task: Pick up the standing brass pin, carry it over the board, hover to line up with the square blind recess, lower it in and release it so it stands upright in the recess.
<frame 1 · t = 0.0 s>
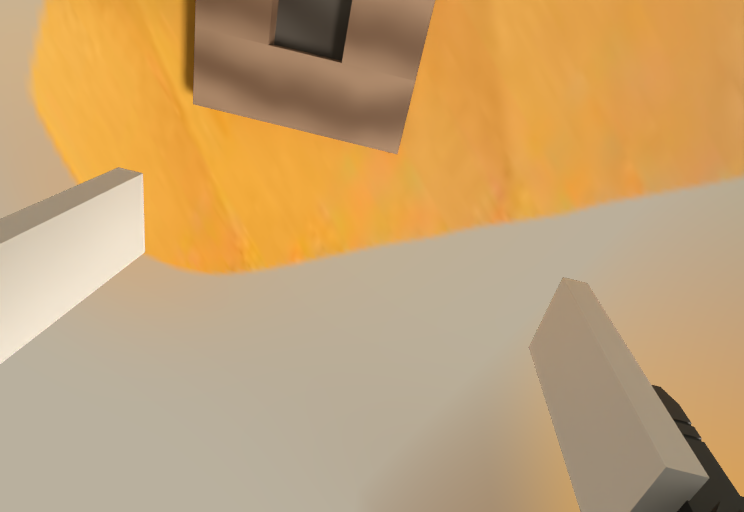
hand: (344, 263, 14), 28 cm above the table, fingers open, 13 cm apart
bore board: (316, 12, 36), on the table
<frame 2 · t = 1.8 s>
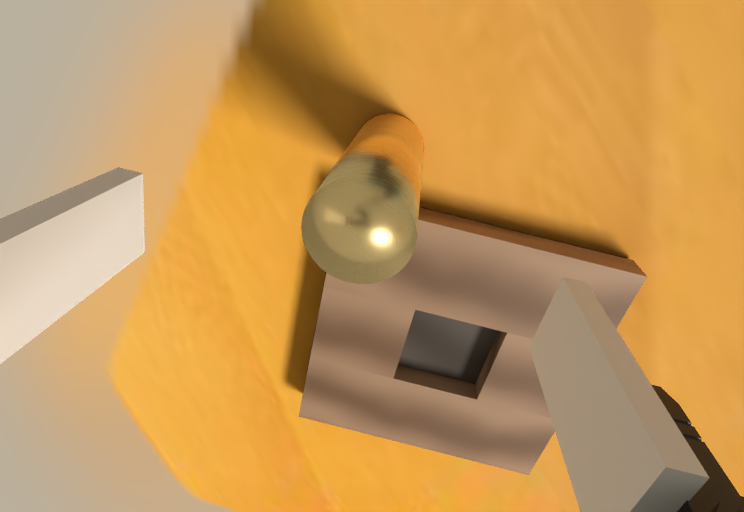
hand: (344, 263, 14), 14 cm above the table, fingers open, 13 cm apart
pin: (389, 149, 26), on the table
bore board: (446, 338, 31), on the table
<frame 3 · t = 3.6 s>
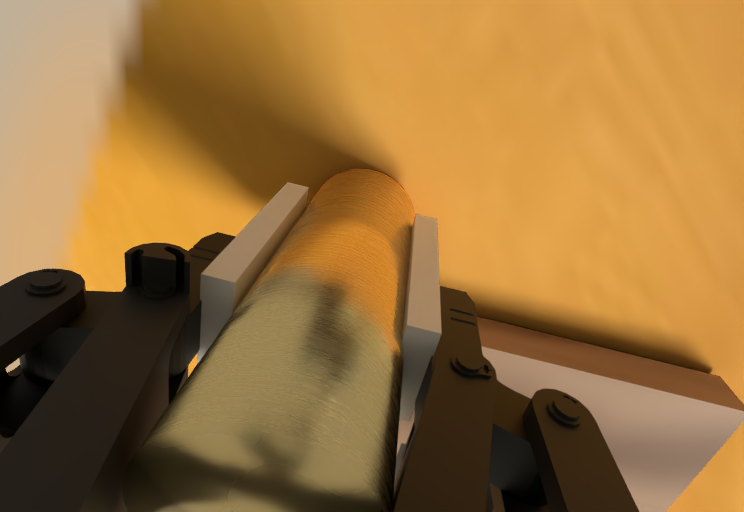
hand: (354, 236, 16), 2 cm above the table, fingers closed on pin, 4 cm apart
pin: (362, 219, 17), on the table, touching gripper
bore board: (446, 464, 23), on the table
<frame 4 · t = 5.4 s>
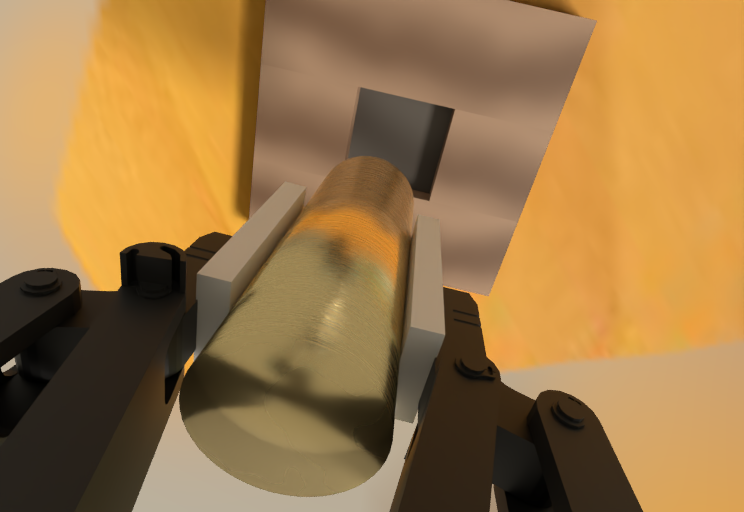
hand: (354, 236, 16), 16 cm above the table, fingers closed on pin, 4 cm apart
pin: (366, 203, 19), point 13 cm above the table, touching gripper
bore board: (397, 139, 30), on the table
when the fingers open (3 cm above the table, at t = 7.7 s): pin stays where it is, resting on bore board.
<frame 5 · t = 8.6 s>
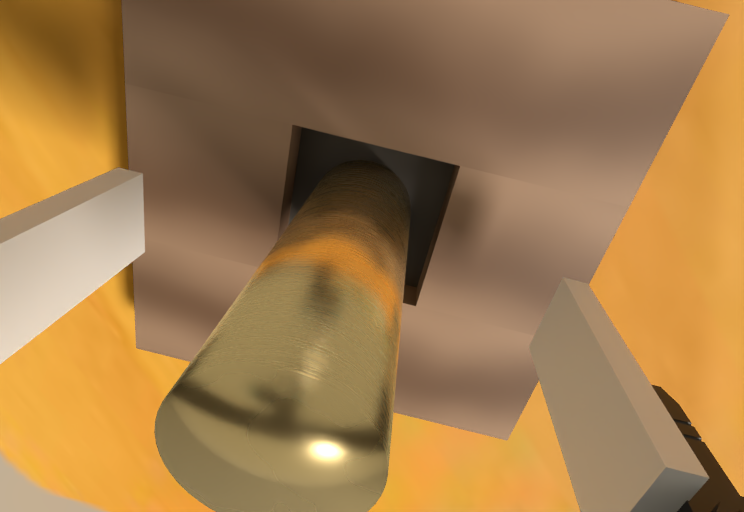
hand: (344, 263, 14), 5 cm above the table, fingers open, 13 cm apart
pin: (361, 208, 18), point 1 cm above the table, touching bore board
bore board: (365, 204, 19), on the table
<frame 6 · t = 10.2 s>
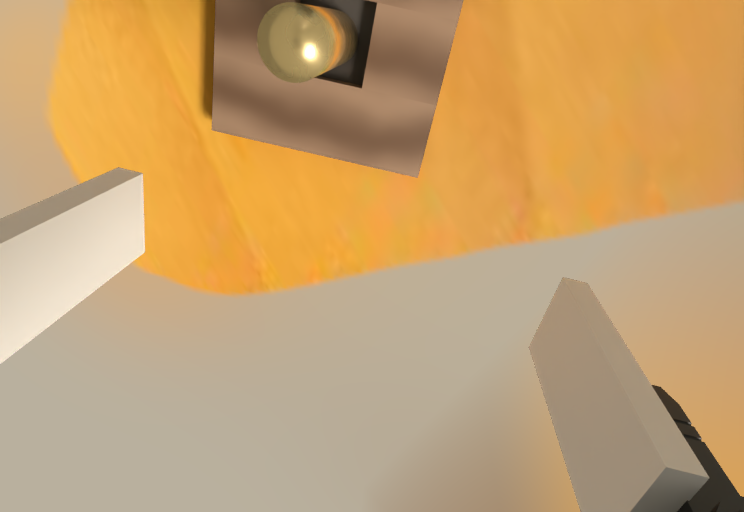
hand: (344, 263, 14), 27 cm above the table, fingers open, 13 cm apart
pin: (333, 38, 35), point 1 cm above the table, touching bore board
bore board: (335, 38, 36), on the table
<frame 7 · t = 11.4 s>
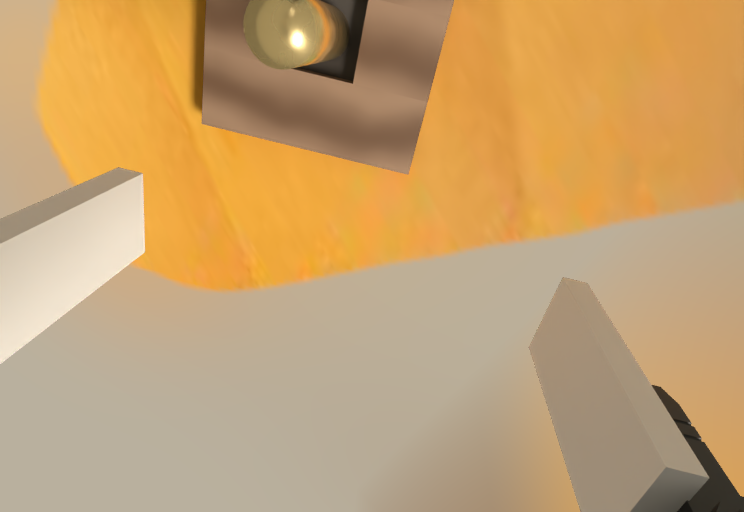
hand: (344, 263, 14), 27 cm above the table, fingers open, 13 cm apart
pin: (324, 32, 35), point 1 cm above the table, touching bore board
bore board: (327, 32, 35), on the table
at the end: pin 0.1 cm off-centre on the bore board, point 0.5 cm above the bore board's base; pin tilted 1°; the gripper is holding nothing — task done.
